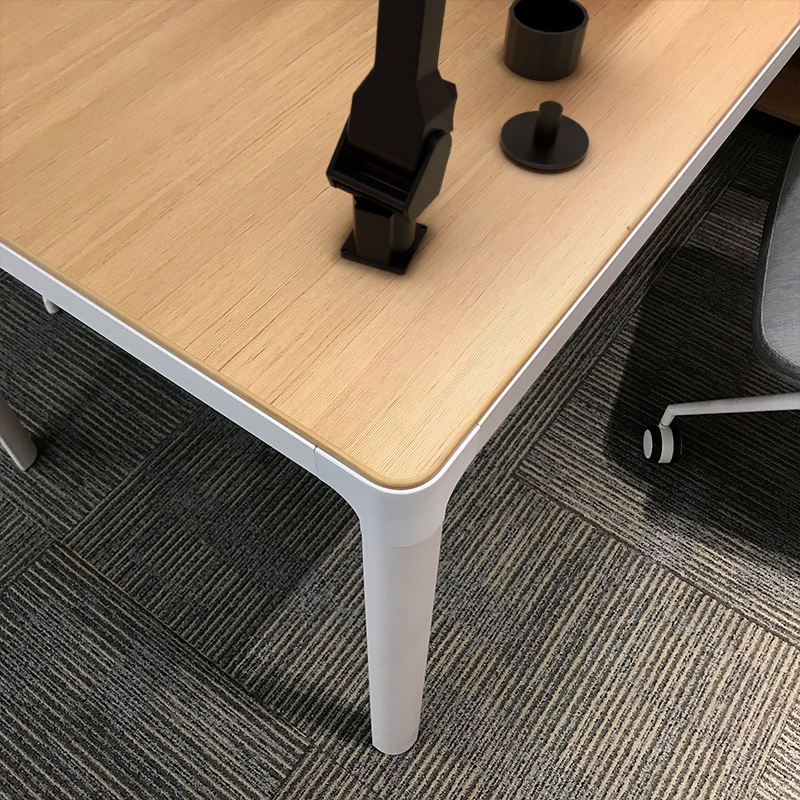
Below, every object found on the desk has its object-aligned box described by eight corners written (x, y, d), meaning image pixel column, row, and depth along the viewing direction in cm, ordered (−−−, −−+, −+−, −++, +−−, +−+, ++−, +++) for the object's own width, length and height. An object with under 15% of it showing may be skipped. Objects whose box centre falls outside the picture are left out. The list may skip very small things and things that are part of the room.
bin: (567, 88, 87) (578, 41, 82) (493, 70, 88) (499, 23, 84) (585, 48, 92) (596, 2, 87) (514, 32, 93) (521, -14, 89)
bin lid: (575, 183, 77) (585, 145, 74) (488, 160, 79) (493, 122, 75) (595, 131, 82) (606, 93, 79) (513, 111, 84) (519, 72, 80)
